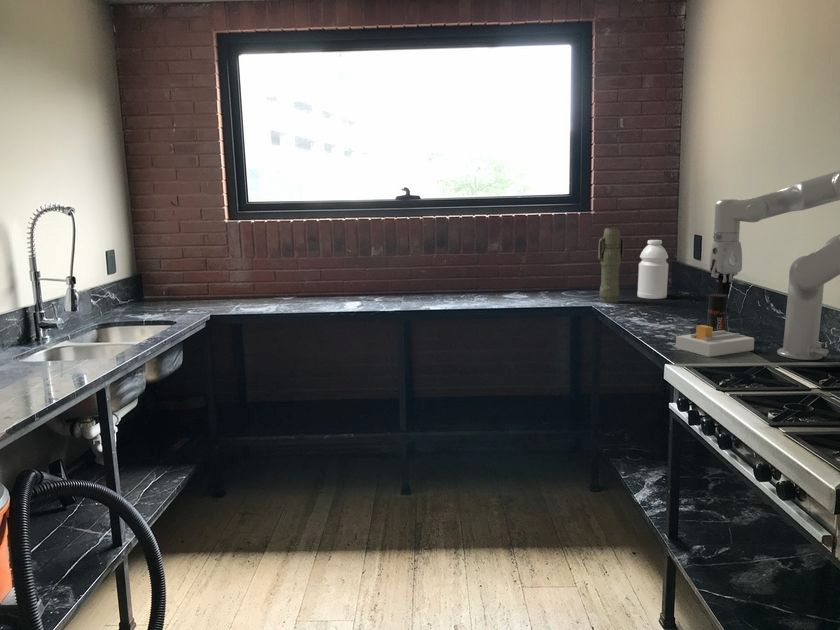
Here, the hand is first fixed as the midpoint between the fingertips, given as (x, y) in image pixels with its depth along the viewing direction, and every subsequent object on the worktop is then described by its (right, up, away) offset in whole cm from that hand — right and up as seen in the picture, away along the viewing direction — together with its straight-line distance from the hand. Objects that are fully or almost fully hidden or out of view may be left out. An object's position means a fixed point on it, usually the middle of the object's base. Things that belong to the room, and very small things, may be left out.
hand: (723, 294), depth 222 cm
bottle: (+15, +2, +113) cm, 114 cm away
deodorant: (+7, -15, +22) cm, 27 cm away
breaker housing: (-2, -18, +3) cm, 18 cm away
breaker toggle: (-7, -15, 0) cm, 16 cm away
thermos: (-10, -1, +100) cm, 100 cm away
